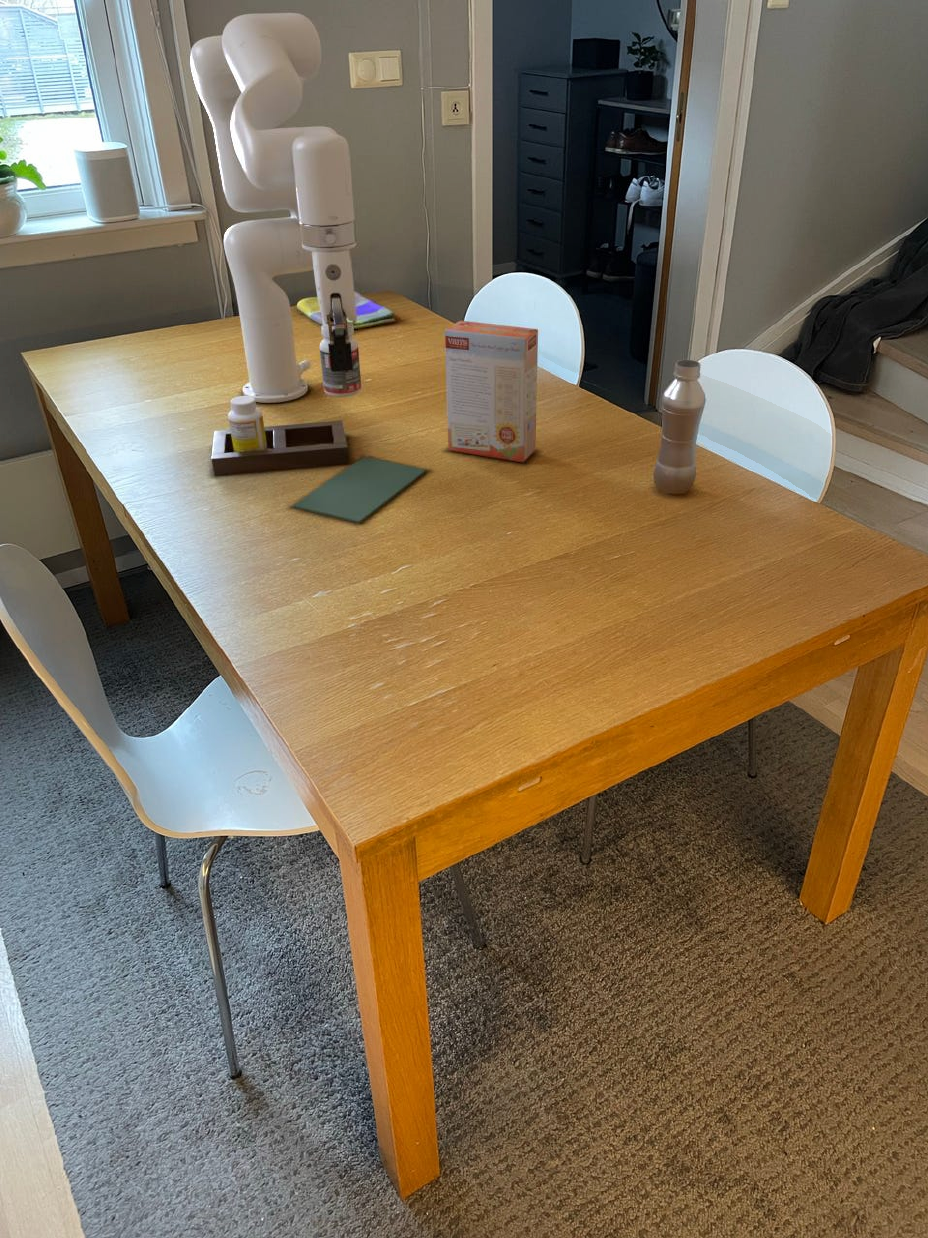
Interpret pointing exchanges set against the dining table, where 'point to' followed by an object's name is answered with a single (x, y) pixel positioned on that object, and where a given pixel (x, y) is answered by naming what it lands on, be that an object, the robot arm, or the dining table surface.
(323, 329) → the pill bottle
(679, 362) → the plastic bottle
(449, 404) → the cracker box
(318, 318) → the dish towel
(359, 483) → the mat
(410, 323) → the dining table surface
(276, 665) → the dining table surface
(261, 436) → the supplement bottle
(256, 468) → the rack
